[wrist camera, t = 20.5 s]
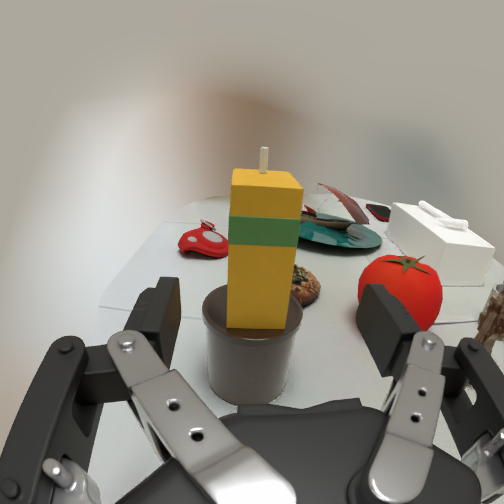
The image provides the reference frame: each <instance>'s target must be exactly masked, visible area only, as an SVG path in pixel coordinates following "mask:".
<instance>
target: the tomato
mask: <svg viewBox="0 0 504 504" xmlns="http://www.w3.org/2000/svg"><path fill="white" fill-rule="evenodd" d="M424 257H425V256H423V257H421V258H418V259H416V258H414V257H408V256H395V255H386V256H382V257H379V258H377V259H375V260H374V261H373V262H372V263H371V264H369V265H368V266H367V267H366V268H365V269H364V271H363V273H362V275H361V277H360V278H359V284H358V301H359V303H360V299H361V296H362V292H363V289H364V286H365V285H366V284H383V285H384V286H385V287H386V289H387V290H388V291H389V293H390V294H392V295H394V296H395V297H396V298H398V299H399V300H400V301H401V302H402V303H403V305H404V306H405V307H406V309H407V310H408V311H409V313H410V315H411V316H412V317H413V318H414V320H415V321H416V322H417V324H418V325H419V327H420V328H421V329H422V331H427V330H428V329H429V328H430V327H431V326H432V325H433V324H434V322H435V320H436V318H437V316H438V314H439V311H440V307H441V304H442V300H443V298H442V285H441V282H440V279H439V276H438V274H437V271H435V270H434V269H433V268H431V267H430V266H429V265H426V264H422V263H419V260H421V259H422V258H424Z"/></svg>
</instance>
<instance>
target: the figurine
mask: <svg viewBox="0 0 504 504" xmlns="http://www.w3.org/2000/svg"><path fill="white" fill-rule="evenodd" d="M500 327H501V328H500ZM477 329H478V331H479V332H478V334H477V335H476V337H475V338H474V339H475V340H477V341H479V342H480V343H481V344H482V345H483V346H484V347H485V349H486V350H487V352H488V353H489V354H490V356H491V352H492V347H493V345H494V343H495V341H496V340H501V339H503V338H504V291H501V292H500V293H499V294H498V295H497V294H496V293H493V296H491V298H490V300H489V306H488V308H487V312H481V314H480V318H479V326H478V328H477ZM469 382H470V381H469Z"/></svg>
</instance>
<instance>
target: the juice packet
mask: <svg viewBox="0 0 504 504" xmlns="http://www.w3.org/2000/svg"><path fill="white" fill-rule="evenodd" d="M268 152H269V148H268V147H261V151H260V167H259V170H252V169H233V176H232V183H231V200H230V212H229V230H228V244H229V252H228V286H227V328H244V329H285V323H286V317H287V310H288V304H289V297H290V290H291V284H292V277H293V270H294V262H295V255H296V248H297V246H298V238H299V230H300V222H301V219H300V216H301V208H302V199H303V190H304V189H303V188H302V187H301V185H300V184H299V183H298V182H297V181H296V180H295V178H294V177H293V176H292V175H291V174H290V173H289V172H281V171H269V170H267V164H268Z"/></svg>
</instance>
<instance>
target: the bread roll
mask: <svg viewBox="0 0 504 504" xmlns="http://www.w3.org/2000/svg"><path fill="white" fill-rule="evenodd" d="M320 288H321V285H320V283H319V282H318V281H317V279H316V277H315V276H314V275H313V274H312V273H311V272H309V271H307V270H306V269H305V268H303V267H300V266H298V265H297V264H294V270H293V277H292V284H291V290H290V294H292V295H293V296H294V297H295V298H296V299H297V300H298V302H299V303H300V305H301V307H304V306H306V305H308V304H310V303H311V302H312V301H313V299H314V298H316V297H317V296H318V294H319V292H320Z"/></svg>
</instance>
